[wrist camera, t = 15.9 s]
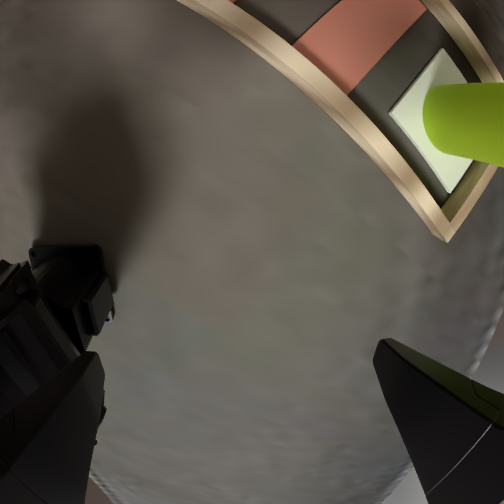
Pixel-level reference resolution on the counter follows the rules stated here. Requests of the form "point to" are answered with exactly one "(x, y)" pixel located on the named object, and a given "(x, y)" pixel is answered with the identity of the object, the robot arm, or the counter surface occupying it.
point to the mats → (356, 37)
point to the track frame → (354, 120)
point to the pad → (411, 118)
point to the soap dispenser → (467, 120)
